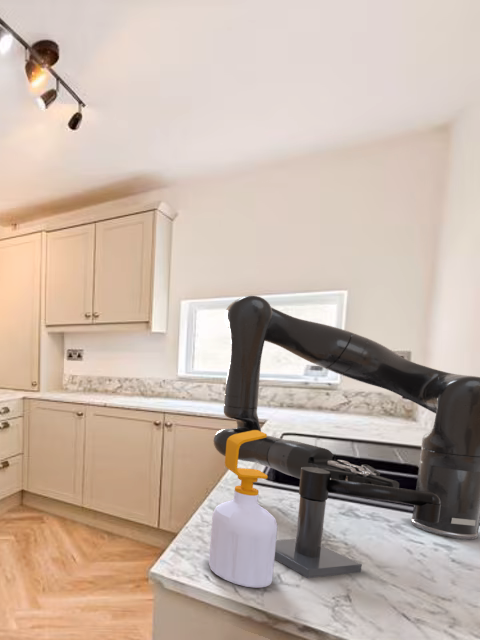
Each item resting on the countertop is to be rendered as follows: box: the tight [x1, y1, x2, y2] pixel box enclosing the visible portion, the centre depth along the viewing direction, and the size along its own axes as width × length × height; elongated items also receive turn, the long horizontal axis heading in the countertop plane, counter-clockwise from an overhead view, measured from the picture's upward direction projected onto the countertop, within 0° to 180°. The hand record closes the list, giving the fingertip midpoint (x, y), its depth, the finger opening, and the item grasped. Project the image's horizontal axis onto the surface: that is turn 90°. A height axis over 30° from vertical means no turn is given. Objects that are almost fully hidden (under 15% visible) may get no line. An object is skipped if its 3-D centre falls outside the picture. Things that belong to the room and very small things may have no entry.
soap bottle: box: [208, 430, 279, 589], centre depth 70 cm, size 9×9×25 cm
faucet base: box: [274, 494, 362, 579], centre depth 76 cm, size 11×10×12 cm
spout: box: [298, 467, 441, 523], centre depth 72 cm, size 18×4×6 cm, turn 60°
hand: (395, 488), depth 73 cm, fingers closed
